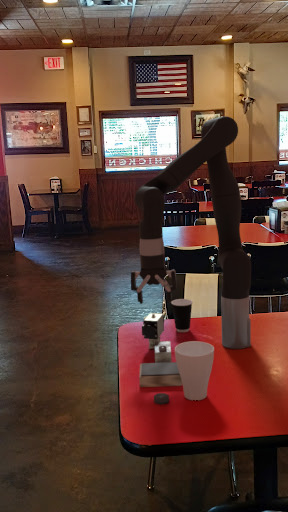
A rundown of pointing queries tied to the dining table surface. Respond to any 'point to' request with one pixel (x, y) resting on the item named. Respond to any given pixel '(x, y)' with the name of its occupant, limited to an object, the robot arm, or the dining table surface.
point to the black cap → (161, 398)
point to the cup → (194, 367)
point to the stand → (159, 374)
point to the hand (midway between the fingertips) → (154, 302)
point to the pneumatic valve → (153, 328)
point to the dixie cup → (182, 314)
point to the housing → (162, 352)
